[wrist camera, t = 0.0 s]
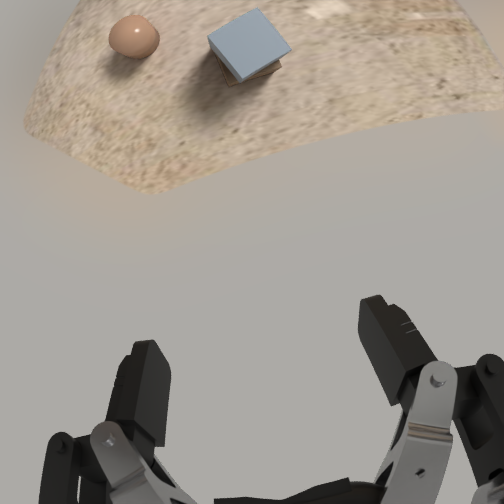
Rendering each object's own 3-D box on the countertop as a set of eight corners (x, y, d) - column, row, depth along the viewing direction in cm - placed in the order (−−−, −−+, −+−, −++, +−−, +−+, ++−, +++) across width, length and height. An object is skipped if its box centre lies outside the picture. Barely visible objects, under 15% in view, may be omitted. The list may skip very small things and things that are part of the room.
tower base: (211, 46, 28) (209, 38, 23) (257, 32, 27) (262, 21, 23) (228, 86, 30) (229, 83, 26) (274, 71, 30) (281, 66, 26)
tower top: (209, 46, 24) (207, 36, 19) (252, 21, 23) (257, 7, 18) (239, 83, 26) (242, 78, 22) (281, 57, 25) (292, 49, 21)
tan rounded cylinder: (120, 33, 25) (106, 24, 20) (156, 20, 25) (147, 9, 20) (125, 64, 27) (111, 59, 23) (162, 51, 27) (153, 44, 23)
